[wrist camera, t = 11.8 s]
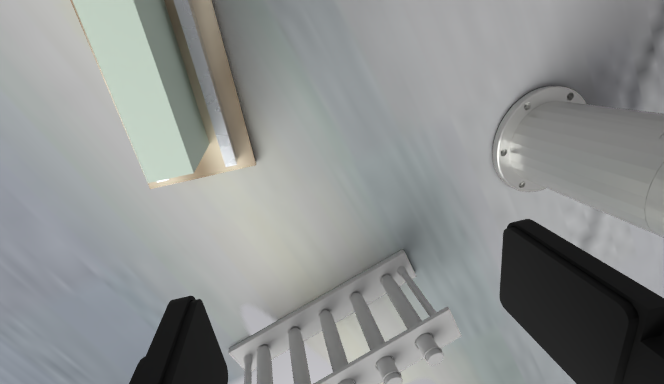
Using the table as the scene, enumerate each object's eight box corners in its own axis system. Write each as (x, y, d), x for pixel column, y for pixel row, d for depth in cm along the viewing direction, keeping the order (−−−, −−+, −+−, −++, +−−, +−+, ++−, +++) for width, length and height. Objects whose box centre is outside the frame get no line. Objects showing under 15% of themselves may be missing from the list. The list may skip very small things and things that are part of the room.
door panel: (163, -3, 26) (121, -34, 18) (209, 144, 31) (193, 173, 22) (123, 2, 25) (61, -27, 17) (176, 150, 30) (147, 183, 22)
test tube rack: (248, 368, 43) (246, 487, 31) (228, 348, 41) (218, 466, 29) (414, 272, 43) (476, 353, 31) (402, 248, 41) (463, 324, 29)
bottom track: (197, -51, 26) (191, -65, 23) (255, 162, 33) (256, 171, 30) (62, -33, 25) (38, -45, 22) (153, 185, 32) (143, 197, 29)
